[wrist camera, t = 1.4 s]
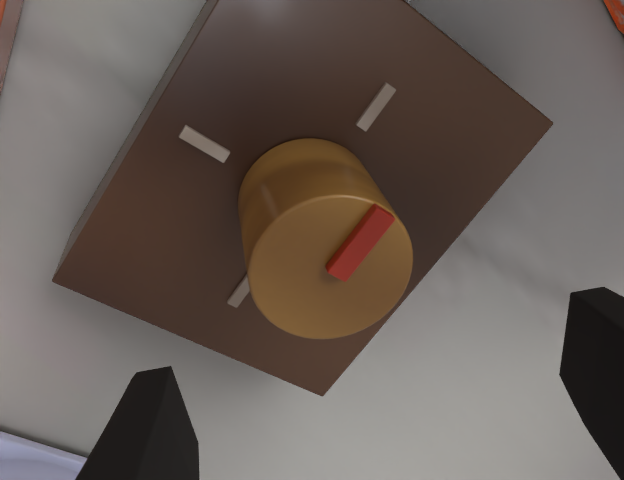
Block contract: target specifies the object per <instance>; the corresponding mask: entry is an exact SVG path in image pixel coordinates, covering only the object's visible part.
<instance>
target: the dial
mask: <svg viewBox="0 0 624 480" xmlns="http://www.w3.org/2000/svg"><path fill="white" fill-rule="evenodd" d="M238 215H239V222H240V229H241V236H242V243H243V250H244V257H245V264H246V271H247V278H248V284H249V289H250V293H251V295H252V298H253V300H254V302H255V304H256V306H257V308H258V309H259V310H260V312H261V313H262V314H263V315H264V316H265V317H266V318H267V319H268V320H269V321H270V322H271V323H273V324H274V325H275V326H277V327H278V328H280V329H282V330H284V331H285V332H288V333H290V334H293V335H296V336H300V337H303V338H310V339H333V338H339V337H344V336H348V335H351V334H354V333H356V332H359V331H361V330H364V329H365V328H367V327H369V326H371V325H373V324H374V323H376V322H377V321H379V320H380V319H381V318H382V317H384V316H385V315H386V314H387V313H388V312H389V311H390V310H391V309H392V308H393V307H394V306H395V305H396V303H397V302H398V301H399V299H400V298H401V296H402V295H403V293H404V291H405V289H406V287H407V285H408V282H409V280H410V276H411V272H412V265H413V249H412V243H411V240H410V237H409V234H408V232H407V230H406V228H405V226H404V225H403V223H402V222H401V220H400V219H399V217H398V216H397V214H396V213H395V211H394V210H393V208H392V207H391V205H390V204H389V203H388V201H387V200H386V198H385V197H384V195H383V194H382V192H381V191H380V189H379V188H378V186H377V185H376V183H375V182H374V181H373V179H372V178H371V176H370V175H369V173H368V172H367V170H366V169H365V167H364V166H363V165H362V163H361V162H360V160H359V159H358V158H357V157H356V156H355V155H354V154H353V153H351V152H350V151H349V150H347V149H346V148H344V147H342V146H341V145H339V144H336V143H334V142H331V141H327V140H323V139H315V138H305V139H297V140H292V141H289V142H285V143H283V144H280V145H278V146H276V147H274V148H272V149H271V150H269V151H268V152H266V153H265V154H264V155H262V156H261V157H260V158H259V159H258V160H257V161H256V162H255V163H254V164H253V165H252V167H251V168H250V169H249V171H248V172H247V174H246V176H245V177H244V180H243V182H242V184H241V187H240V191H239V196H238Z"/></svg>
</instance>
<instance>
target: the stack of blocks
mask: <svg viewBox="0 0 624 480" xmlns="http://www.w3.org/2000/svg"><path fill="white" fill-rule="evenodd" d="M604 2H605V4H606V6H607V8H608V10H609V12H610V14H611V16H612V18H613V20H614V22H615V24H616V26H617V28H618V30H619V31H620V32H622V33H623V34H624V0H604Z"/></svg>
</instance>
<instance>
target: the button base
mask: <svg viewBox="0 0 624 480" xmlns="http://www.w3.org/2000/svg"><path fill="white" fill-rule="evenodd" d="M23 1H24V0H0V93H1V89H2V85H3V81H4V77H5V73H6V69H7V65H8V61H9V57H10V53H11V49H12V45H13V41H14V37H15V33H16V29H17V25H18V21H19V17H20V13H21V9H22V5H23Z"/></svg>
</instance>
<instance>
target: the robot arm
mask: <svg viewBox="0 0 624 480" xmlns="http://www.w3.org/2000/svg"><path fill="white" fill-rule="evenodd" d="M559 375H560V377H561V379H562V381H563V383H564V385H565V387H566V389H567V391H568V394H569V396H570V398H571V400H572V402H573V404H574V406H575V408H576V410H577V411H578V413H579V415H580V417H581V419H582V421H583V423H584V425H585V426H586V428H587V430H588V431H589V433H590V434H591V436H592V437H593V439H594V440H595V442H596V443H597V445H598V446H599V448H600V449H601V451H602V452H603V454H604V455H605V457H606V458H607V460H608V461H609V463H610V464H611V466H612V467H613V469H614V470H615V472H616V473H617V475H618V476H619V478H620V479H621V480H624V297H622V296H620V295H618V294H617V293H615V292H613V291H611V290H609V289H607V288H605V287H599V288H594V289H588V290H583V291H577V292H572V293H571V294H570V301H569V309H568V316H567V323H566V330H565V338H564V345H563V352H562V359H561V367H560V374H559ZM0 480H199V450H198V441H197V438H196V435H195V432H194V429H193V427H192V424H191V421H190V418H189V415H188V412H187V410H186V407H185V404H184V401H183V398H182V395H181V393H180V390H179V387H178V384H177V381H176V378H175V376H174V373H173V370H172V367H171V366H169V367H163V368H158V369H152V370H147V371H141V372H136V374H135V375H134V376H133V378H132V379H131V381H130V383H129V385H128V387H127V389H126V390H125V392H124V394H123V396H122V398H121V400H120V402H119V404H118V405H117V407H116V409H115V411H114V413H113V415H112V416H111V418H110V420H109V422H108V424H107V425H106V427H105V429H104V431H103V433H102V434H101V436H100V438H99V440H98V442H97V443H96V445H95V447H94V448H93V450H92V452H91V453H90V455H89V457H88V458H85V457H82V456H79V455H76V454H72V453H69V452H66V451H63V450H60V449H56V448H53V447H50V446H47V445H44V444H40V443H37V442H34V441H31V440H27V439H24V438H21V437H18V436H15V435H11V434H8V433H5V432H2V431H0Z"/></svg>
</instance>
